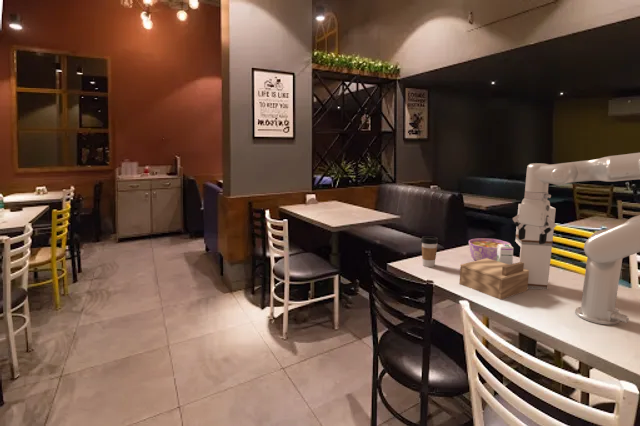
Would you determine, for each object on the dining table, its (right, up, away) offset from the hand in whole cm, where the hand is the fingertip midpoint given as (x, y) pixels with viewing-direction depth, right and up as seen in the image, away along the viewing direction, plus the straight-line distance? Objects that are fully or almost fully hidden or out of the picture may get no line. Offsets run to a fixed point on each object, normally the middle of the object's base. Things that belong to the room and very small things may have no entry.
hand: (531, 241), depth 143 cm
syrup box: (+5, -19, +32) cm, 37 cm away
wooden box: (-7, -21, +17) cm, 28 cm away
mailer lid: (-7, -13, +15) cm, 22 cm away
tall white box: (+10, -21, +20) cm, 31 cm away
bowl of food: (+5, -16, +48) cm, 51 cm away
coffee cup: (-26, -16, +47) cm, 56 cm away
